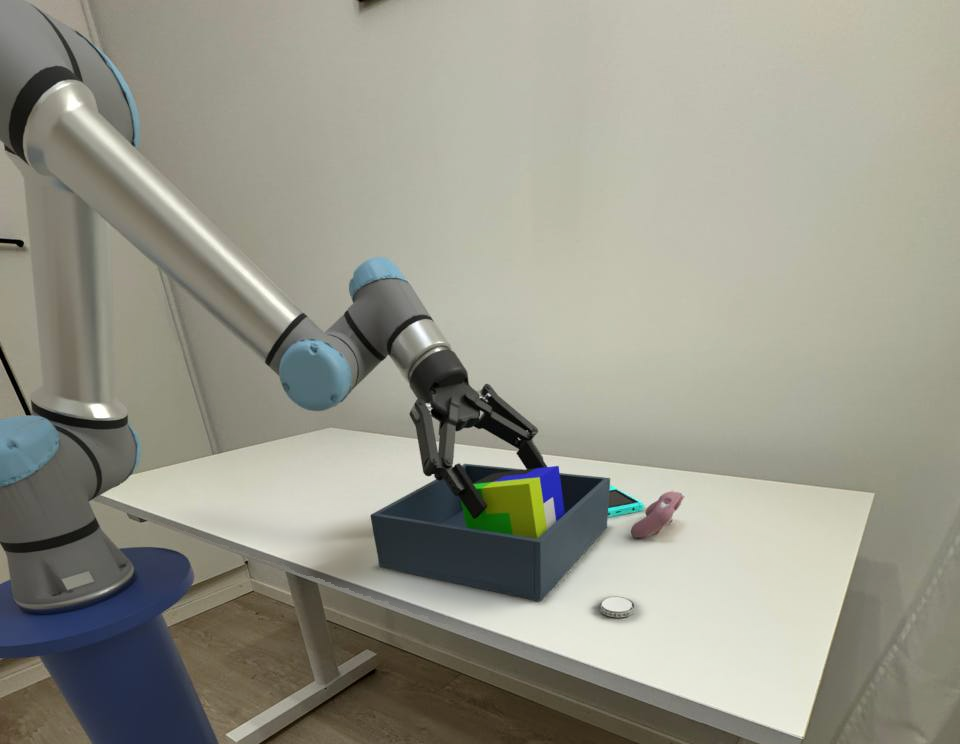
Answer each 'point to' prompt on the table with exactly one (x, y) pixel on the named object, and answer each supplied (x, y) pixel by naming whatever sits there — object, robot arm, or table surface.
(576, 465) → the table surface
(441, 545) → the bin
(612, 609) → the white grey disc
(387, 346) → the robot arm
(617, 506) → the handheld game console
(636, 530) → the video game controller
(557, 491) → the puzzle toy
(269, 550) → the table surface
